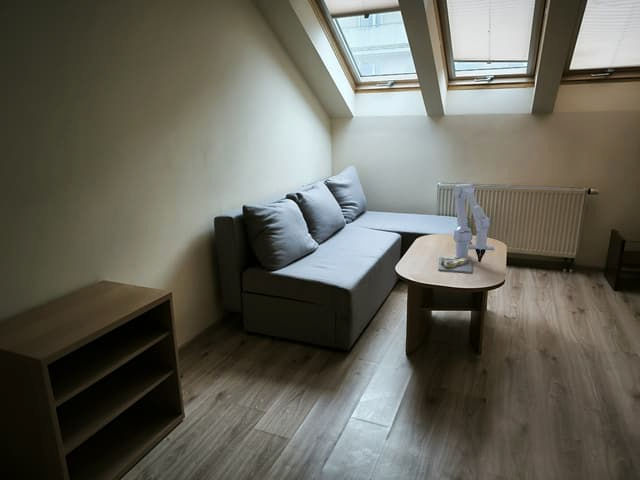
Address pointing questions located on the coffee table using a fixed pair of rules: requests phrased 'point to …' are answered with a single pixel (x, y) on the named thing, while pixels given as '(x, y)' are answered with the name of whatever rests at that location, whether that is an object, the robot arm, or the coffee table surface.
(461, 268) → the board
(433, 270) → the coffee table surface
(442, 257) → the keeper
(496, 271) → the coffee table surface
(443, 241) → the coffee table surface
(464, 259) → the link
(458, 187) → the robot arm
